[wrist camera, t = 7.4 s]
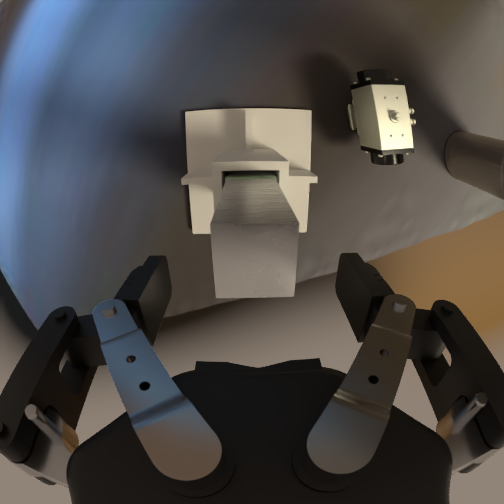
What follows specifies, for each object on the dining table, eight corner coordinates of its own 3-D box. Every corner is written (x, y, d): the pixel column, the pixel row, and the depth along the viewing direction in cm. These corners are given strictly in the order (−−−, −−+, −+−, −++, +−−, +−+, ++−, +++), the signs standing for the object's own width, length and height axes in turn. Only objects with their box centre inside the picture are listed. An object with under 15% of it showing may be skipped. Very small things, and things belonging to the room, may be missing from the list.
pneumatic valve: (349, 155, 37) (387, 169, 26) (336, 80, 32) (371, 65, 21) (381, 152, 36) (425, 165, 25) (369, 79, 31) (412, 68, 20)
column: (268, 163, 30) (301, 221, 12) (267, 199, 31) (295, 299, 14) (230, 163, 29) (207, 222, 12) (231, 200, 31) (214, 301, 14)
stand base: (309, 110, 34) (350, 102, 19) (304, 228, 42) (333, 285, 27) (187, 112, 33) (148, 104, 19) (194, 230, 41) (169, 288, 27)
